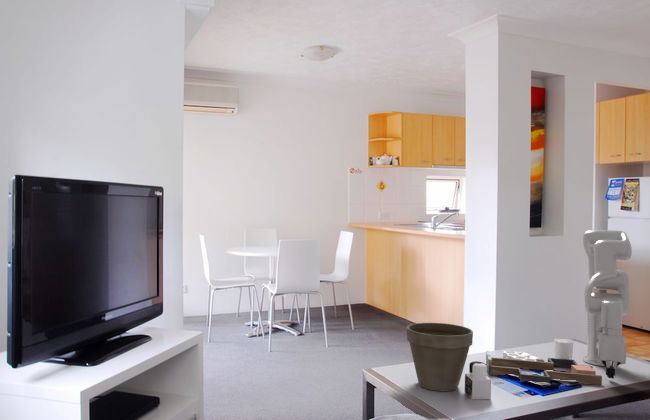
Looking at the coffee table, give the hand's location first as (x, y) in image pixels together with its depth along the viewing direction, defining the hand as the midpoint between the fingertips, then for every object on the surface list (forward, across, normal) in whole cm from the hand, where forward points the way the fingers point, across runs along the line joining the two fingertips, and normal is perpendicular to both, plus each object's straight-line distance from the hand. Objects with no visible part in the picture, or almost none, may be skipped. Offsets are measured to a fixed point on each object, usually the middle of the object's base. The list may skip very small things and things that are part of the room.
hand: (610, 377), depth 205 cm
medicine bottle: (+2, -53, -35) cm, 63 cm away
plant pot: (+2, -67, -27) cm, 72 cm away
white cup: (+2, -13, +22) cm, 26 cm away
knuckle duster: (+2, -31, +17) cm, 36 cm away
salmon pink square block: (+2, -10, 0) cm, 10 cm away
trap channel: (+1, -26, 0) cm, 26 cm away
